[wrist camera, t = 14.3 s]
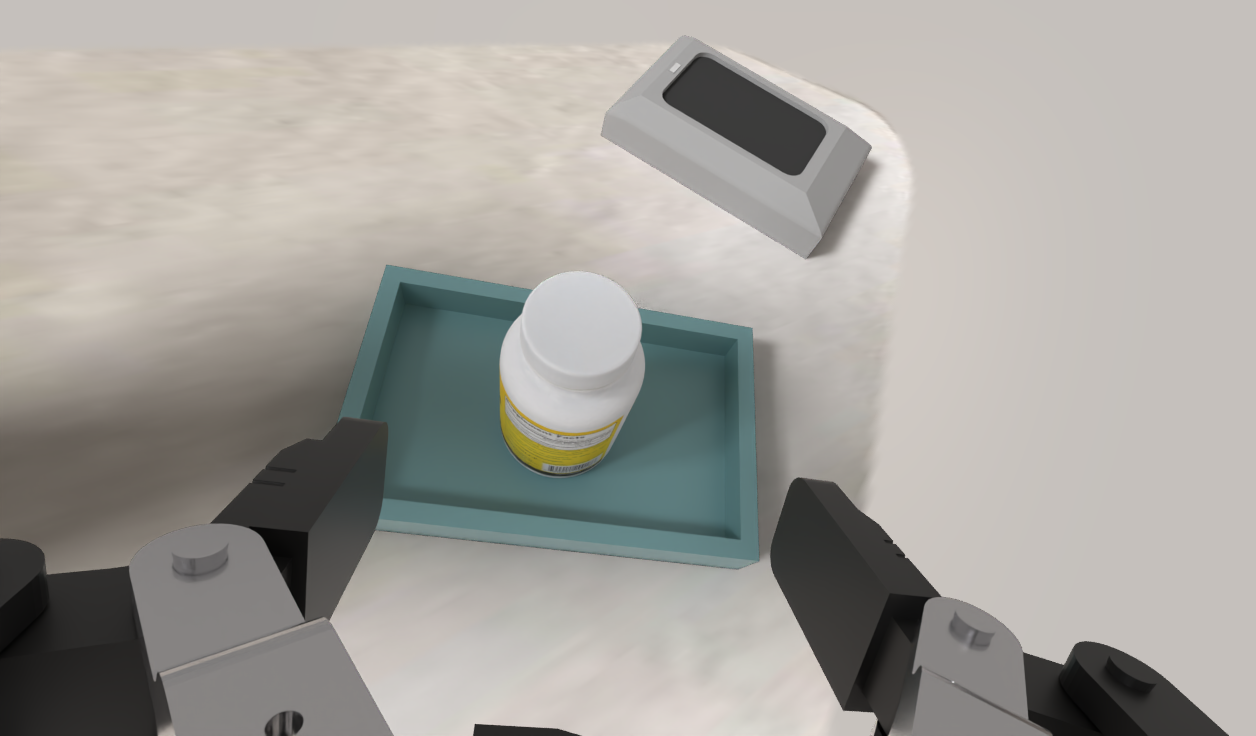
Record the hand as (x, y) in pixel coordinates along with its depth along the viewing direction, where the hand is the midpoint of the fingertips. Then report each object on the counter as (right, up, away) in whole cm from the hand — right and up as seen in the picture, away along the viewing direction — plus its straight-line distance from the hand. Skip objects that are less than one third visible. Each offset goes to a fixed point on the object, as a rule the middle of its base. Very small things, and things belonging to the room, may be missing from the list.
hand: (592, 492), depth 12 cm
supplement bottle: (-3, 0, +17) cm, 17 cm away
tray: (-3, 0, +17) cm, 17 cm away
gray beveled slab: (+8, +16, +28) cm, 34 cm away
